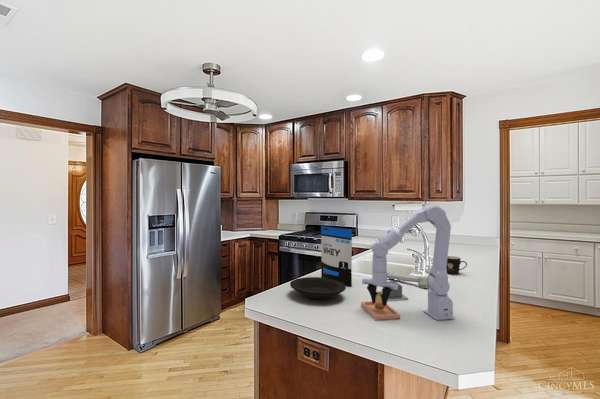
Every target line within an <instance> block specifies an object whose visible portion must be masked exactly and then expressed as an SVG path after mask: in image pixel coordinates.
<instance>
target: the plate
mask: <svg viewBox="0 0 600 399" xmlns="http://www.w3.org/2000/svg"><path fill="white" fill-rule="evenodd" d="M289 286H290V288H291V289H293V290H295V292H297V293H299V294H301V295H302V296H305V297H306V298H309V299H310V300H317V301H321V300H326V299H328V298H332V297H335V296H337V295H339V294H341V293H342V292H344V291H345V290H346V286H345V285H344V284H343V283H341V282H339V281H336V280H333V279H327V278H322V277H314V276H313V277H312V276H310V277H299V278H296V279H293V280H291V281H290V282H289Z"/></svg>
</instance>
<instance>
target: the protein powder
mask: <svg viewBox="0 0 600 399" xmlns="http://www.w3.org/2000/svg"><path fill="white" fill-rule="evenodd" d="M320 228H321V229H320V231H321V232H320V233H321V235H320V238H321V239H320V244H321V245H320V246H321V248H320V249H321V263H320V264H321V270H320V271H321V277H320V278H327V279H333V280H336V281H339V282H341V283H343V284H344V285H345V286H346V287H348V288H349V287H350V288H352V287H353V283H352V282H353V281H352V280H353V276H352V274H353V272H352V270H353V269H352V264H353V263H352V260H353V259H352V258H353V257H352V256H353V253H352V251H353V249H352V248H353V247H352V246H353V245H352V244H353V242H352V241H353V239H352V238H353V236H352V235H353V234H352V232H353V231H352V229H347V228H340V227H339V228H338V227H331V226H323V225H322V226H321V227H320Z"/></svg>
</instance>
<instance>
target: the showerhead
mask: <svg viewBox="0 0 600 399" xmlns="http://www.w3.org/2000/svg"><path fill="white" fill-rule="evenodd" d="M431 268H432V267H430V266H427V268H425V270H424V272H425V274H428V275H429V273H430V269H431Z"/></svg>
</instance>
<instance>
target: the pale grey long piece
mask: <svg viewBox="0 0 600 399" xmlns="http://www.w3.org/2000/svg"><path fill="white" fill-rule="evenodd" d="M427 277H428V275H422V276H421V275H420V276H418V275H410V274H405V273H398V272H397V273H396V272H387V278H390V279H397V280H396V281H398V280H403V281H402V282H410V283H411V282H412V283H417V285H418V288H420V289H423V290H424V289H426V290H428V289H429V286H428V284H427V282H426V279H427Z"/></svg>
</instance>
